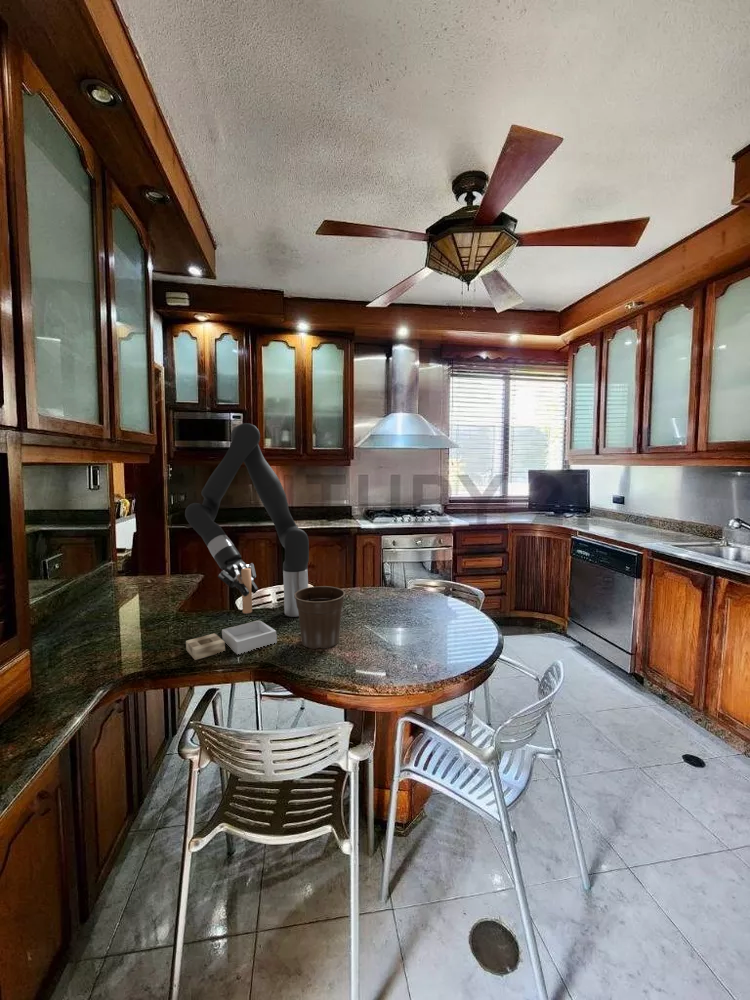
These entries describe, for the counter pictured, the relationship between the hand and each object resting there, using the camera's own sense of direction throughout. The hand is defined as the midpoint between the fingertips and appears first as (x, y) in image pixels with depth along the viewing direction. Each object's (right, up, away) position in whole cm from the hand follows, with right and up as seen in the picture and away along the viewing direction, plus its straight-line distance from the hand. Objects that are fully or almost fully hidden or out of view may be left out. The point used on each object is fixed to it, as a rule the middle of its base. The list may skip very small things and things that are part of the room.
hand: (251, 593), depth 138 cm
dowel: (-2, -6, +2) cm, 7 cm away
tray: (-1, -16, +3) cm, 17 cm away
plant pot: (+22, -16, +2) cm, 28 cm away
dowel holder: (-13, -17, -3) cm, 22 cm away
